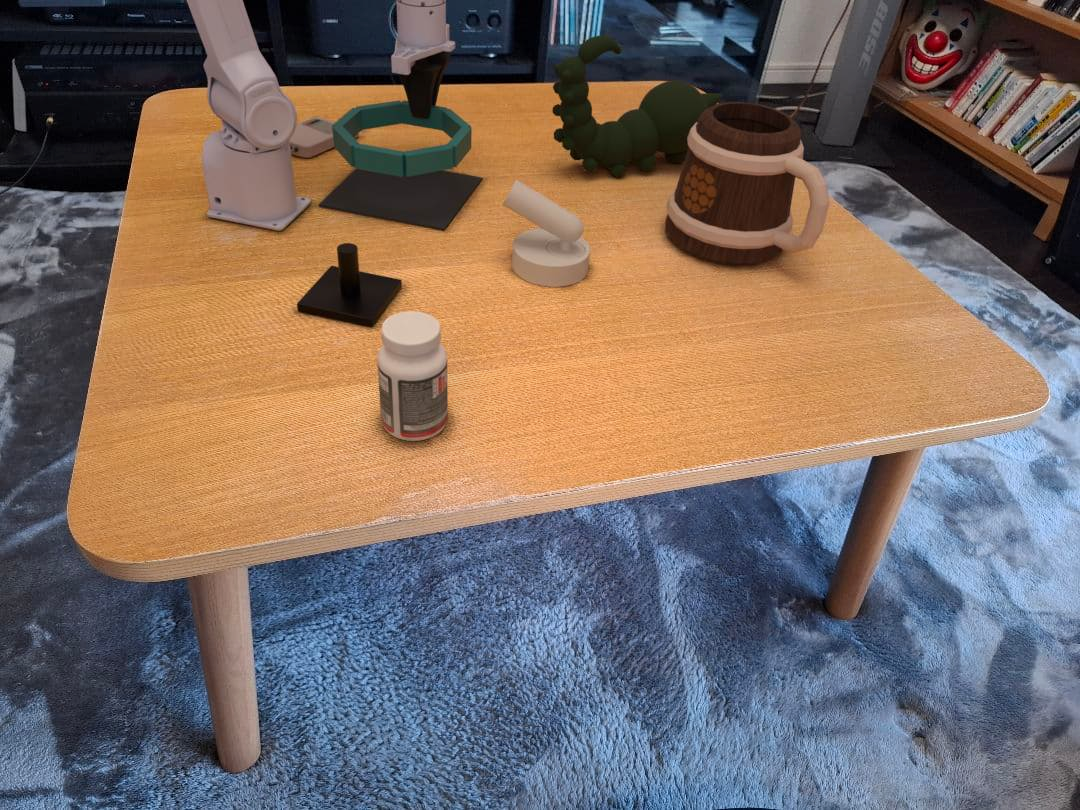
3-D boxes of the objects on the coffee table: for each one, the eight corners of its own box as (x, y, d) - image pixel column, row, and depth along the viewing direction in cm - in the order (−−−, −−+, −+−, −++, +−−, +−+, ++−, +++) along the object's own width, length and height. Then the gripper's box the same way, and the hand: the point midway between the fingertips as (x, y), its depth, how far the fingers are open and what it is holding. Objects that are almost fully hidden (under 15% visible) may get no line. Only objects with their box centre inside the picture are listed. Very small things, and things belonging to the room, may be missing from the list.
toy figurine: (572, 201, 114) (733, 165, 121) (575, 55, 101) (754, 25, 108) (543, 171, 120) (698, 139, 127) (542, 31, 107) (714, 3, 115)
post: (297, 311, 86) (290, 259, 83) (331, 273, 92) (327, 222, 89) (372, 327, 85) (369, 275, 81) (402, 287, 91) (400, 236, 87)
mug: (636, 228, 105) (655, 107, 96) (718, 199, 113) (743, 85, 104) (762, 303, 94) (798, 174, 85) (843, 265, 102) (885, 143, 92)
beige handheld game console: (368, 133, 122) (367, 112, 120) (286, 168, 111) (284, 146, 109) (332, 121, 124) (331, 100, 122) (250, 154, 114) (246, 132, 112)
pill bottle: (457, 411, 76) (459, 317, 70) (431, 451, 72) (429, 355, 66) (399, 394, 77) (395, 301, 71) (369, 432, 73) (362, 337, 67)
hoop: (316, 161, 100) (314, 140, 98) (369, 114, 111) (368, 94, 110) (442, 184, 98) (442, 162, 96) (483, 133, 109) (483, 113, 107)
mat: (318, 206, 104) (318, 204, 104) (368, 158, 115) (368, 156, 115) (444, 230, 101) (444, 228, 101) (482, 179, 113) (482, 177, 113)
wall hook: (513, 163, 95) (602, 177, 94) (509, 240, 101) (593, 254, 100) (494, 196, 88) (590, 211, 87) (491, 277, 94) (581, 292, 93)
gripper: (432, 21, 94) (433, 140, 103) (473, -10, 105) (470, 100, 114) (372, 12, 95) (377, 131, 104) (418, -18, 106) (420, 92, 115)
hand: (423, 114), depth 109 cm, fingers closed on hoop
